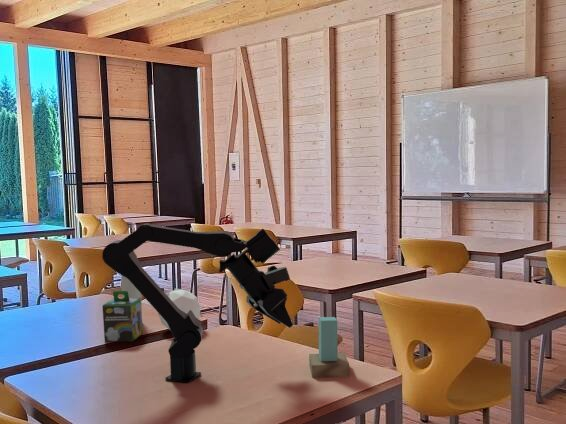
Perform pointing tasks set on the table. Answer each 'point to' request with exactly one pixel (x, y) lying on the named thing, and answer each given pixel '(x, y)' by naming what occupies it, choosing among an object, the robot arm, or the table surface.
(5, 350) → the table surface
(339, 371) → the base brick
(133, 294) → the travel mug
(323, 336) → the pillar brick
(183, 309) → the geodesic sphere
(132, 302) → the chalk box
